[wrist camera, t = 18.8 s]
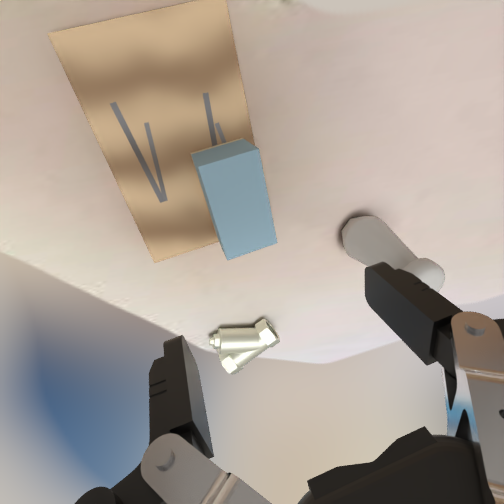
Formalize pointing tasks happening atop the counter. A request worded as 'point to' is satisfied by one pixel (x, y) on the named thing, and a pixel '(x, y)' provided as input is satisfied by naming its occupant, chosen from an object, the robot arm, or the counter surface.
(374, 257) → the salt shaker
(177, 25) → the oak board
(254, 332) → the pipe fitting
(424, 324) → the robot arm
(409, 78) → the counter surface
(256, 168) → the block
